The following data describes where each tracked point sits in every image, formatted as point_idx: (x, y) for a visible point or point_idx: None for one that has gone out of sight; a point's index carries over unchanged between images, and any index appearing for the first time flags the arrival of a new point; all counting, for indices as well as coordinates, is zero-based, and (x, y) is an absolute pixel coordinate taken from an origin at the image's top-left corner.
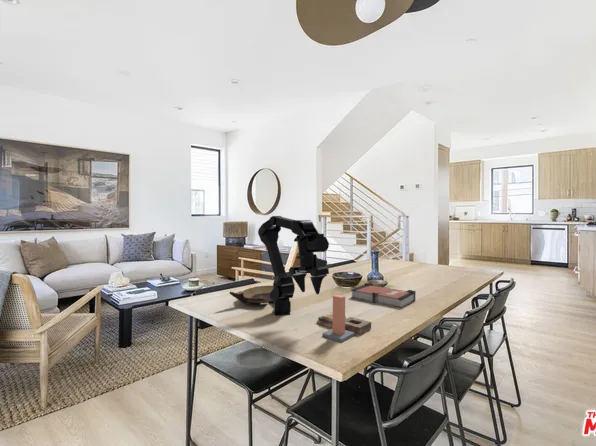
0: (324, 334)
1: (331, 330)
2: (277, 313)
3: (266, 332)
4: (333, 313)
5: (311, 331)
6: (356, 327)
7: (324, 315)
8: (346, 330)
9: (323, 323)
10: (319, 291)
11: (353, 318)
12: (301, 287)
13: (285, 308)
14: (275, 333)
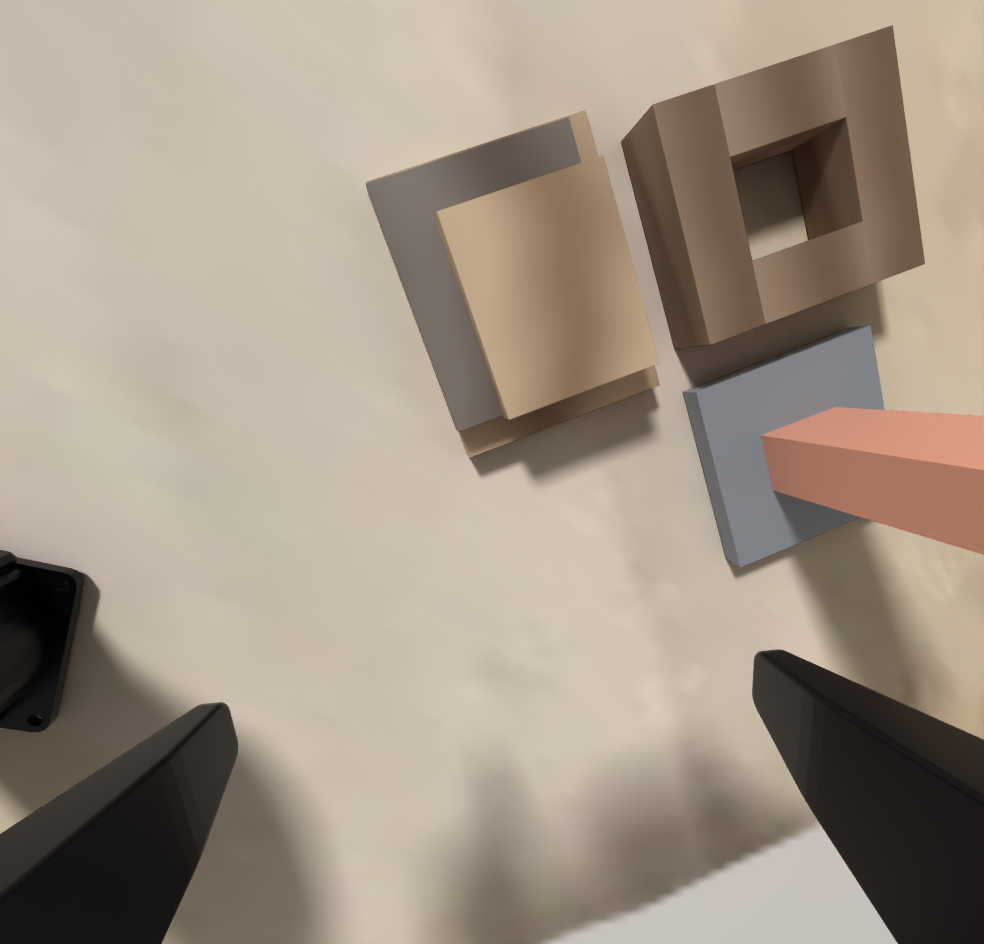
0: (755, 558)
1: (734, 470)
2: (32, 704)
3: (459, 886)
4: (951, 537)
5: (607, 587)
6: (885, 277)
7: (511, 383)
8: (801, 354)
9: (547, 427)
10: (830, 676)
11: (714, 118)
12: (171, 886)
13: (3, 648)
14: (508, 836)
